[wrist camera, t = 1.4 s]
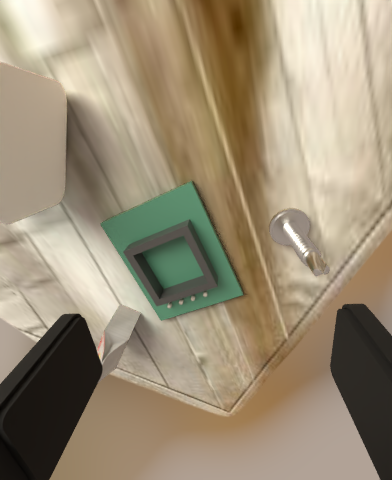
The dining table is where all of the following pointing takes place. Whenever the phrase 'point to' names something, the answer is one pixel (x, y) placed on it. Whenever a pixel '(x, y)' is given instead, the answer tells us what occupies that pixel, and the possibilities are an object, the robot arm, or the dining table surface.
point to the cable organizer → (31, 143)
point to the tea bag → (116, 338)
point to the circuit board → (174, 252)
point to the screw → (297, 238)
